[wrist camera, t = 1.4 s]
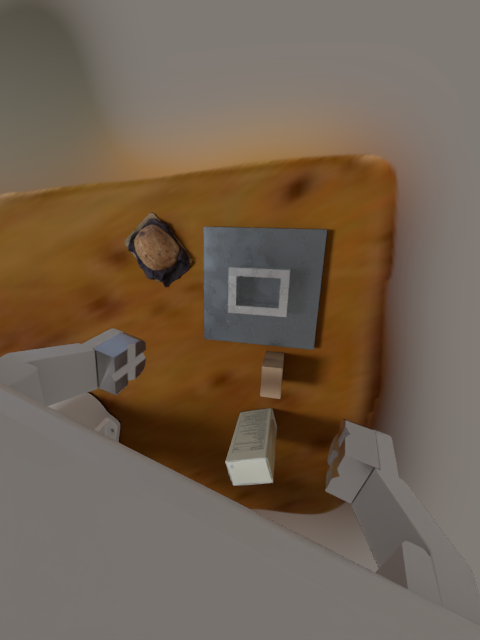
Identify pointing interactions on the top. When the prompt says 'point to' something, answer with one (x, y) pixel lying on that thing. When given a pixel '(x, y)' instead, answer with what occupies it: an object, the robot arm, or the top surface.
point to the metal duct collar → (262, 285)
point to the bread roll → (158, 250)
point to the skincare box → (253, 448)
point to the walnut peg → (272, 374)
